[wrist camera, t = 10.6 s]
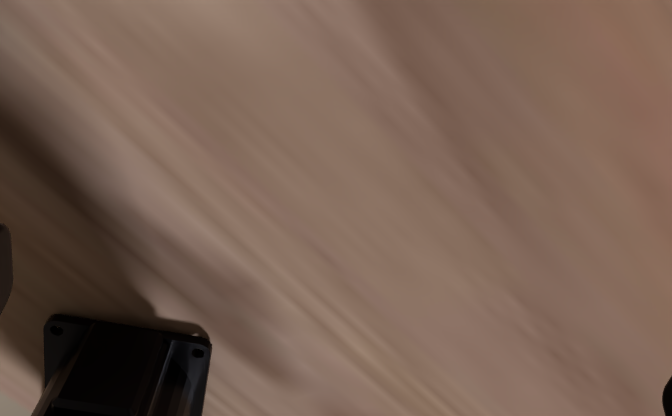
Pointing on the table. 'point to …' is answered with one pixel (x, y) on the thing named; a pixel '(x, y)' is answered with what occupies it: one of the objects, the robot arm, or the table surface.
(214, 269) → the table surface
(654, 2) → the table surface
